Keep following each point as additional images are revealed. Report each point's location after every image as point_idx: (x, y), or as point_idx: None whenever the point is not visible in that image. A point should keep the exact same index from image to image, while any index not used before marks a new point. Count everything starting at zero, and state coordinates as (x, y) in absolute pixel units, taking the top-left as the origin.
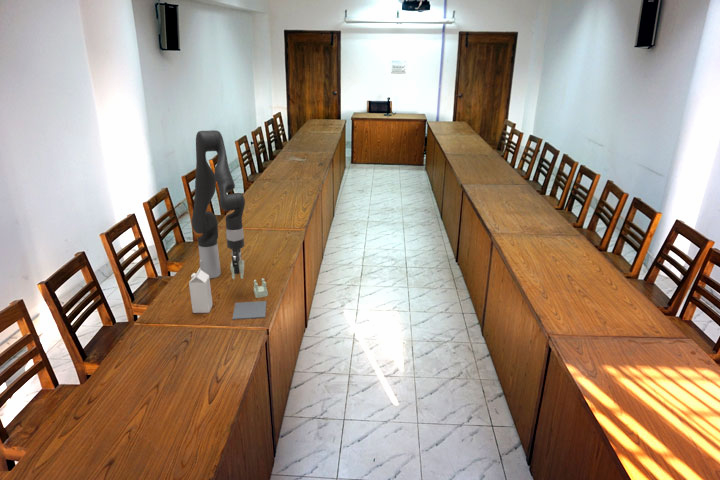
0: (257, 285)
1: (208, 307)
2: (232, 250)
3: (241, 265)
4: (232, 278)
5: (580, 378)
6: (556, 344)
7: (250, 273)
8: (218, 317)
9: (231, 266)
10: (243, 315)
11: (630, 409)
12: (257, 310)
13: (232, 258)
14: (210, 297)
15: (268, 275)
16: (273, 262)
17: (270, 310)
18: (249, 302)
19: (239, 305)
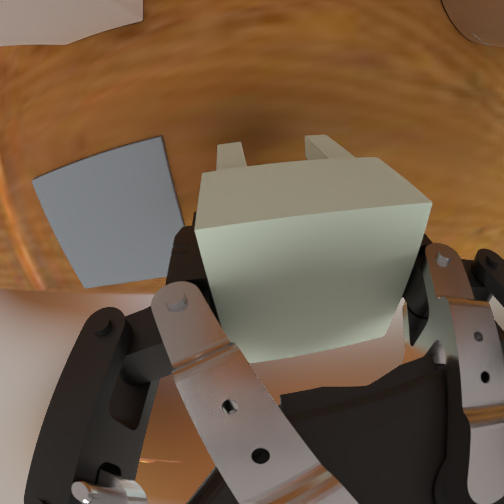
0: None
1: (51, 44)
2: (467, 502)
3: None
4: (217, 148)
5: None
6: (166, 460)
7: (460, 160)
8: (37, 109)
9: (198, 238)
10: (63, 215)
11: None
12: (112, 256)
13: (32, 493)
14: (91, 18)
15: (427, 229)
16: (489, 229)
17: (136, 290)
18: (172, 207)
19: (135, 168)
